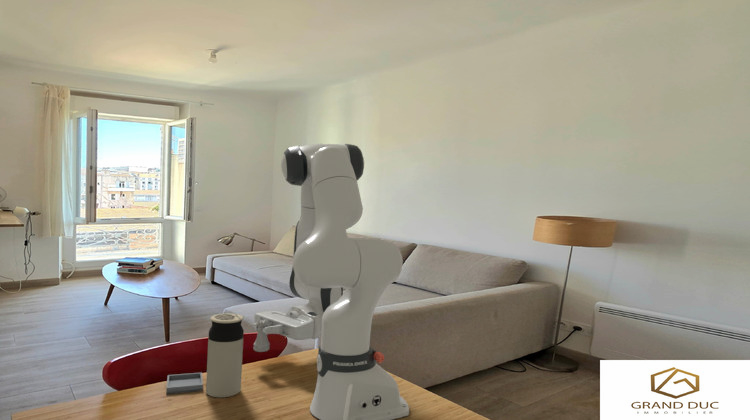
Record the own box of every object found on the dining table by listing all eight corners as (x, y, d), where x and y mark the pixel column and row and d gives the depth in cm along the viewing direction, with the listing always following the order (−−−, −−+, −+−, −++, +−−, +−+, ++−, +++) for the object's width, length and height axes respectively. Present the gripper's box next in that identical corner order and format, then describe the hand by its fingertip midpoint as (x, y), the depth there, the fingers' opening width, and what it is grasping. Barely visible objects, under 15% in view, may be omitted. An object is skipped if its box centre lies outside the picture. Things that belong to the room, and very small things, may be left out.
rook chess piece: (272, 347, 132) (273, 318, 132) (266, 352, 127) (267, 322, 127) (256, 346, 133) (258, 317, 132) (250, 351, 128) (251, 321, 128)
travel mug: (206, 400, 110) (210, 322, 109) (205, 386, 117) (208, 313, 117) (242, 396, 113) (246, 320, 112) (238, 383, 120) (242, 312, 120)
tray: (201, 378, 122) (201, 372, 122) (202, 390, 115) (203, 384, 115) (167, 381, 119) (167, 375, 119) (166, 394, 112) (166, 387, 112)
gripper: (278, 303, 146) (238, 310, 136) (323, 316, 133) (282, 325, 122) (277, 324, 147) (237, 332, 136) (322, 339, 133) (281, 349, 123)
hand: (259, 329), depth 129 cm, fingers closed on rook chess piece, 3 cm apart
